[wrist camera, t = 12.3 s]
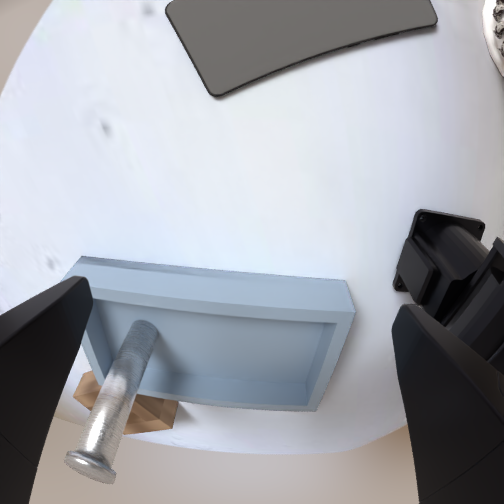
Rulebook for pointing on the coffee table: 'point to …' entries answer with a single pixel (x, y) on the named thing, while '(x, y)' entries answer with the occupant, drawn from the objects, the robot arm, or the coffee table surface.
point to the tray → (220, 332)
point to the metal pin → (113, 406)
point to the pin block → (143, 409)
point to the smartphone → (281, 32)
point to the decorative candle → (494, 30)
